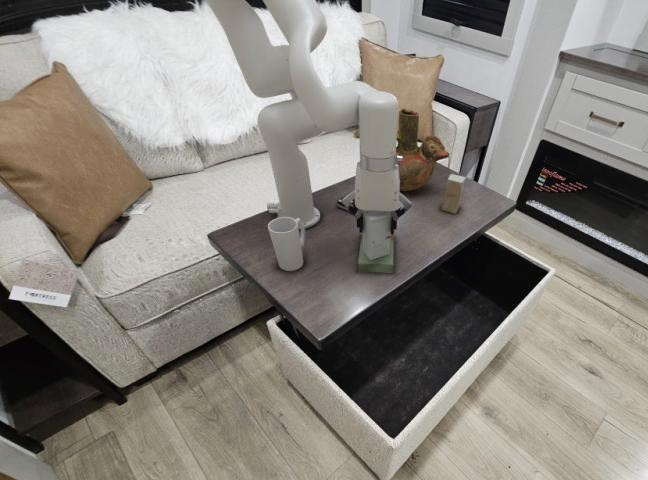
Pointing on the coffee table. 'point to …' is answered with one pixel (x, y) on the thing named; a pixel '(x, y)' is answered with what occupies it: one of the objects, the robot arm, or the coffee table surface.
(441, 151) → the ceramic vessel
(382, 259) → the wood and green block
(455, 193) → the box
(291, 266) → the mug
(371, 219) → the white medicine box
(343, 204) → the remote control
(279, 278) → the coffee table surface
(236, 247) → the coffee table surface
